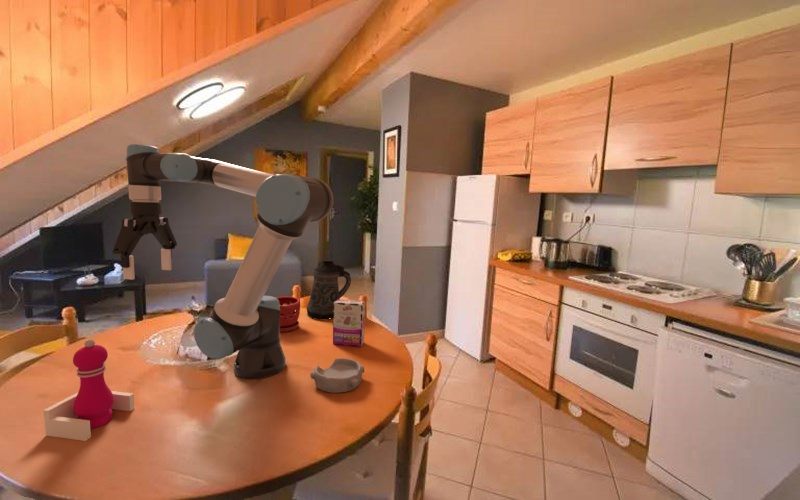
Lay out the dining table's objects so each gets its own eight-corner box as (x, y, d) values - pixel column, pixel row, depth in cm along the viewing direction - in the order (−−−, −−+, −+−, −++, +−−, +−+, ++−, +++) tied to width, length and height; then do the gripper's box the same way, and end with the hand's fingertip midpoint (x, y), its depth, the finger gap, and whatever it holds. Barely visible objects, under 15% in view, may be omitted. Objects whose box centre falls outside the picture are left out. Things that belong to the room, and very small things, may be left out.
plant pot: (276, 321, 155) (276, 294, 154) (304, 324, 153) (305, 297, 152) (260, 332, 142) (260, 303, 141) (291, 335, 141) (291, 306, 139)
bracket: (134, 408, 89) (133, 385, 88) (85, 441, 77) (83, 415, 76) (99, 404, 90) (98, 381, 89) (45, 435, 78) (43, 410, 77)
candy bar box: (364, 342, 138) (365, 300, 135) (361, 347, 133) (362, 304, 130) (336, 339, 139) (337, 298, 137) (332, 344, 134) (333, 302, 132)
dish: (305, 388, 103) (305, 372, 102) (330, 368, 115) (330, 353, 115) (350, 400, 98) (350, 383, 97) (371, 377, 111) (371, 362, 110)
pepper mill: (91, 433, 79) (85, 348, 77) (65, 428, 81) (58, 343, 78) (122, 415, 86) (117, 336, 84) (98, 410, 88) (93, 332, 85)
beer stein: (299, 313, 167) (299, 261, 164) (331, 305, 182) (333, 257, 179) (321, 322, 157) (322, 266, 153) (354, 313, 171) (355, 262, 168)
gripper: (166, 200, 115) (169, 265, 117) (91, 200, 90) (97, 282, 93) (188, 201, 114) (190, 267, 117) (118, 201, 89) (123, 284, 92)
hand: (149, 274), depth 105 cm, fingers open, 13 cm apart
